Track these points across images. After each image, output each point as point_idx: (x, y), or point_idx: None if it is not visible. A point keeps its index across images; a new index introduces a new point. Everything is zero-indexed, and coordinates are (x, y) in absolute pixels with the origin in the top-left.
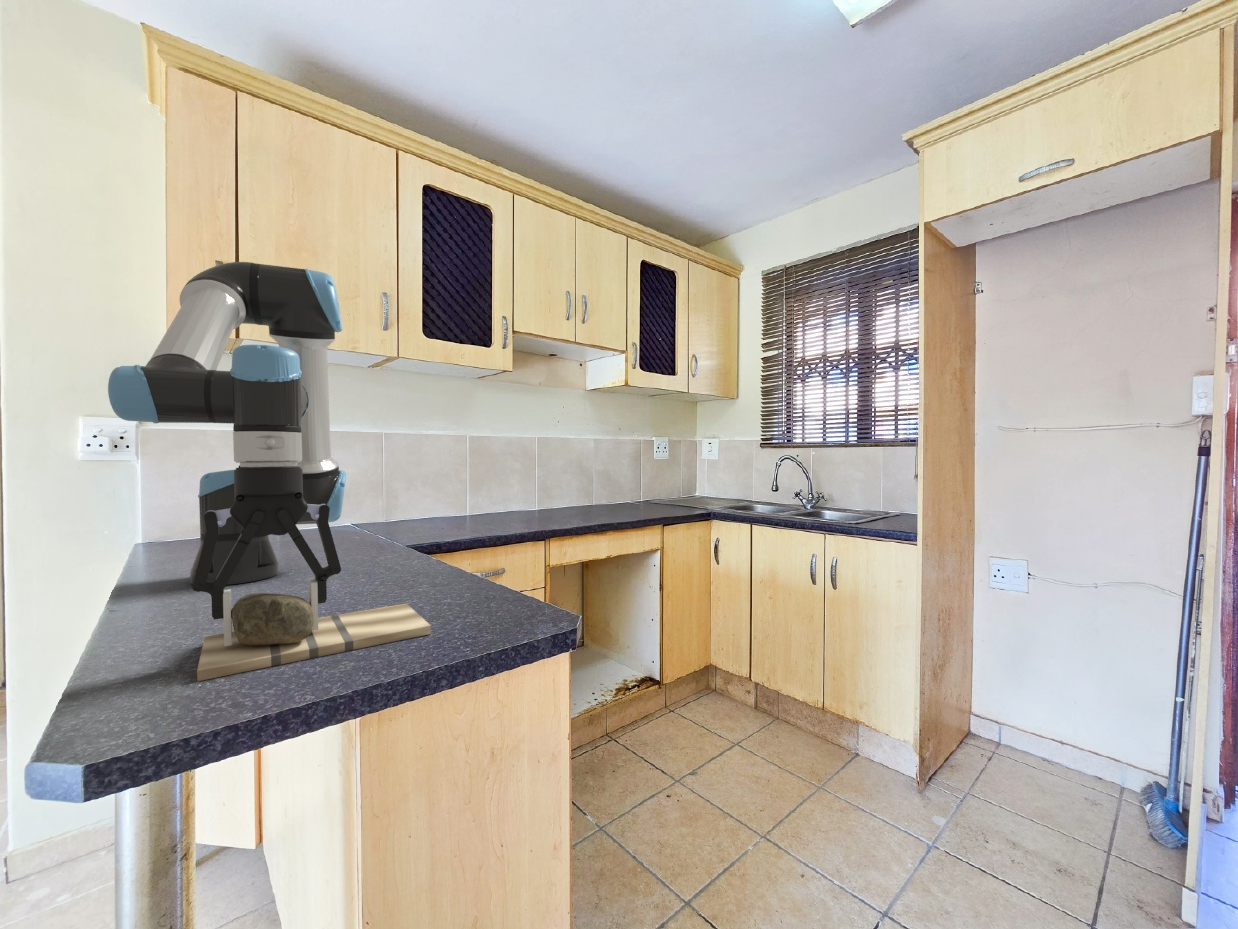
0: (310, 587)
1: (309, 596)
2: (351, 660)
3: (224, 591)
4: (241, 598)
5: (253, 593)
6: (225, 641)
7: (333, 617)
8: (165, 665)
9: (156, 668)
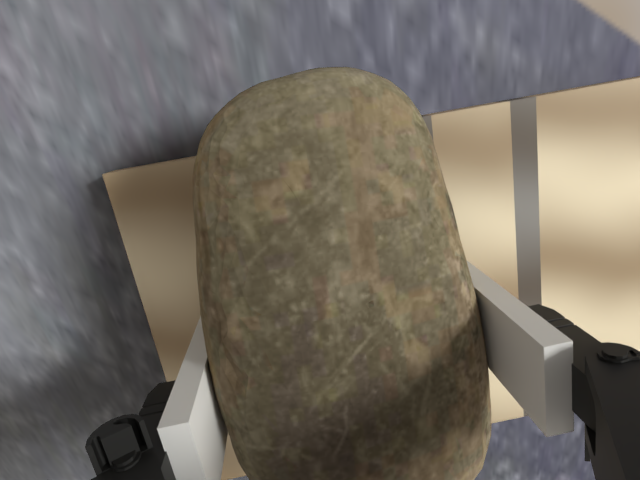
0: (529, 393)
1: (498, 316)
2: (517, 460)
3: (172, 461)
4: (235, 357)
5: (265, 260)
6: None
7: (518, 132)
8: (69, 318)
9: (55, 334)
